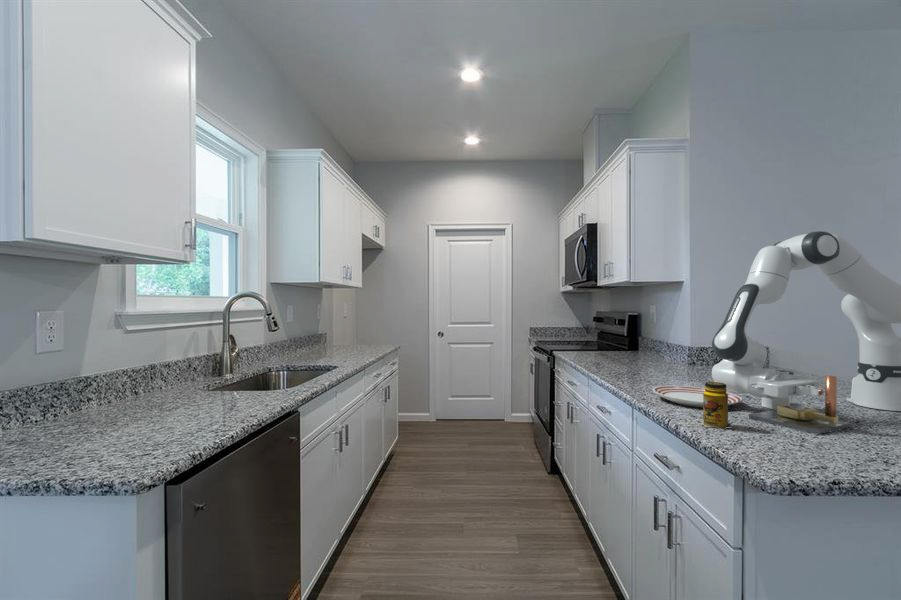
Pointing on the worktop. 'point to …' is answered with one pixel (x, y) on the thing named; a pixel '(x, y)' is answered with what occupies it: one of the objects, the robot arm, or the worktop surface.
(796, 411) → the copper and beige l-shape
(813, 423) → the post base
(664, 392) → the dinner plate
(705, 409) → the condiment
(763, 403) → the jar
